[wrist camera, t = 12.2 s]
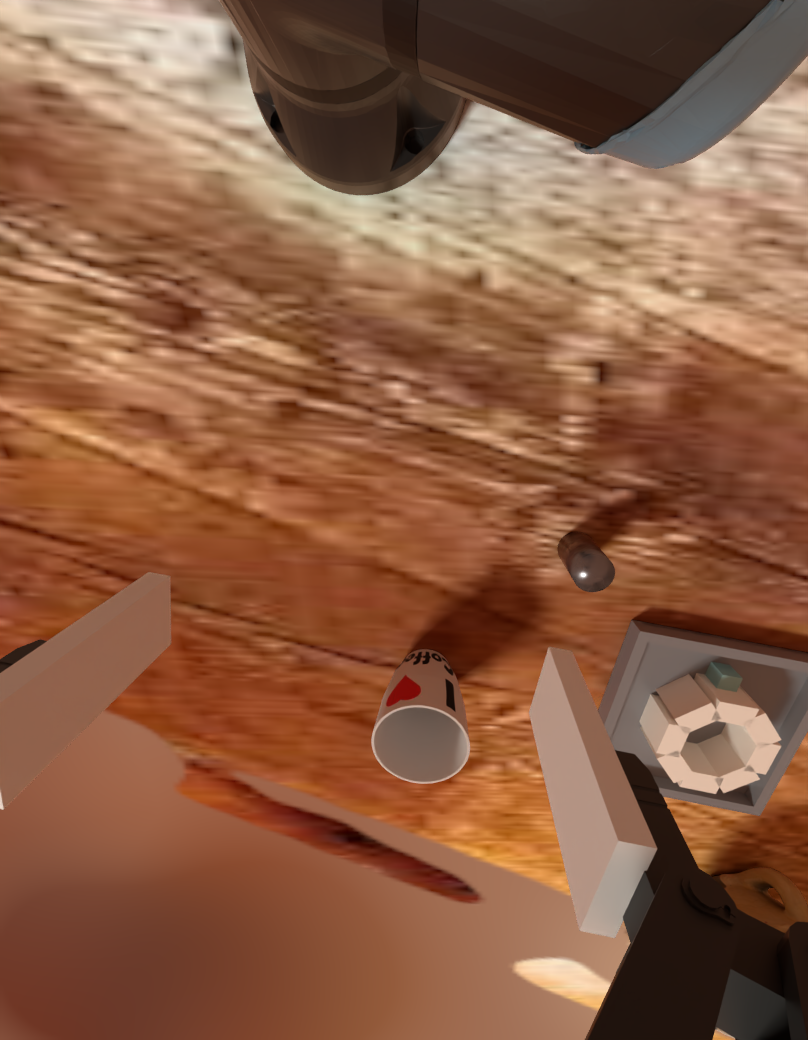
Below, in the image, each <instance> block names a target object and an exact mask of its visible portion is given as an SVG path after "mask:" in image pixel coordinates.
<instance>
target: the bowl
mask: <svg viewBox="0 0 808 1040" xmlns="http://www.w3.org/2000/svg"><path fill="white" fill-rule="evenodd" d="M712 878H713V879H715V880H716V881H717V882H718V883H719V884H720V885H721V886H722V887H723V888H724V889H725V890H726V891H727V893H728V894H729V895H730V897H731V898H732V899H733V901H734V902H735V904H736V907H737V909H739V910H741V911H742V912H744V913H746V914H747V915H749V916H751V917H753V918H755V919H757V920H759V921H761V922H763V923H765V924H767V925H769V926H771V927H773V928H775V929H777V930H779V931H781V932H783V933H786V932H787V930H788V929H789V927H790V926H791V925H793V924H794V923H795V922H808V905H807V903H806V901H805V899H804V897H803V895H802V893H801V892H800V890H799V889H798V888H797V887H796V886H795V884H794V883H793V882H792V881H791V880H790V879H789V878H788V877H786V876H785V875H784V874H782V873H780V872H779V871H777V870H775V869H772V868H768V867H757V868H752V869H748V870H745V871H743V872H741V873H737V874H722V875H720V876H713V877H712ZM769 888H775V890H776V891H777V892H778V893H779V895H780V896H781V898H782V901H783V903H784V905H783V904H781V903H780V902H778V901H777V900H776V899H774V898H773V897H771V896H770V895H769V893H768V889H769ZM715 1029H716V1030H717V1031H719V1032H721V1033H723V1034H725V1035H727V1036H730V1037H732V1036H731V1035H729V1034H727V1033H726V1032H724V1031H722V1030H721V1029H719V1028H717V1027H715ZM732 1038H734V1037H732Z"/></svg>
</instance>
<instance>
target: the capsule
mask: <svg viewBox="0 0 808 1040" xmlns="http://www.w3.org/2000/svg"><path fill="white" fill-rule="evenodd" d="M558 554H559V556H560V558H561V560H562V562H563V563H564V565H565V567H566V568H567V570H568V572H569V573H570V575H571V577H572V578H573V580H574V582H575V584H576V585H577V586H578V587H579V588H580V589H582V590H584V591H588V592H597V591H601V590H603V589H605V588H606V587H608V586H609V585H610V584H611V582H612V581H613V579H614V576H615V569H614V566H613V564H612V562H611V561H610V560H609V559H608V558H607V556H606V555H605V554H604V553H603V552H602V550H601V549H600V548H599V547H598V546H597V545H596V543H595V542H594V541H593V540H592V539H591V537H590V536H588V535H587V534H585V533H583V532H572V533H569V534H567V535H565V536H564V537H563V538H562V539H561V540H560V542H559V544H558Z"/></svg>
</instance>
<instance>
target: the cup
mask: <svg viewBox="0 0 808 1040" xmlns="http://www.w3.org/2000/svg"><path fill="white" fill-rule="evenodd" d="M372 749H373V752H374V755H375V757H376V759H377V760H378V762H379V763H380V764H381V765H382V766H383V767H384V768H385V769H386V770H387V771H388V772H390V773H391V774H393V775H394V776H396V777H398V778H400V779H403V780H406V781H409V782H414V783H435V782H440V781H443V780H446V779H448V778H450V777H452V776H453V775H455V774H456V773H458V772H459V771H460V770H461V769H462V767H463V766H464V765H465V763H466V761H467V759H468V756H469V752H470V743H469V735H468V728H467V720H466V713H465V706H464V702H463V698H462V695H461V691H460V688H459V684H458V681H457V678H456V676H455V674H454V672H453V670H452V668H451V666H450V665H449V663H448V661H447V659H446V658H445V657H444V656H443V655H441V654H440V653H438V652H436V651H433V650H429V649H420V650H416V651H414V652H412V653H410V654H409V655H408V656H407V657H406V658H405V659H404V660H403V662H402V663H401V664H400V666H399V667H398V668H397V669H396V671H395V673H394V675H393V677H392V679H391V681H390V683H389V685H388V688H387V690H386V692H385V694H384V696H383V699H382V703H381V706H380V710H379V713H378V716H377V720H376V723H375V727H374V730H373V734H372Z"/></svg>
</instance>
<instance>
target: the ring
mask: <svg viewBox="0 0 808 1040" xmlns="http://www.w3.org/2000/svg"><path fill="white" fill-rule="evenodd" d="M742 680H743V678H742V677H741V676H740V675H739V674H738V673H737V672H736V671H735V670H734V669H733V668H732V667H731V666H730V665H726V664H721V663H716V662H710V665H709V667H708V669H707V671H706V674H699V673H696V675H695V678H694V680H693V678H692V677H691V676H690V675H689V674H688V675H686V676H683V677H681V678H679V679H677V680H675V681H673V682H671V683H668V684H666V685H664V686H662V687H660V688H658V689H655V690H656V691H657V693H658V694H659V696H657V695H652V694H650V697H649V699H648V702H647V704H646V707H645V709H644V711H643V714H642V716H641V719H640V721H639V722H640V724H641V725H642V726H641V727H640V728H641V730H642V732H643V734H644V736H645V737H646V739H647V741H648V743H649V745H650V747H651V749H652V751H653V752H654V754H655V756H656V758H657V760H658V761H659V763H660V764H661V765H662V767H663V768H664V770H665V771H666V773H667V774H668V776H669V777H670V778H671V780H672V781H673V783H676V782H677V783H678V785H679V787H683V788H688V789H693V790H698V791H703V792H708V793H713V794H716V793H717V791H718V789H719V787H720V789H721V790H722V792H723V793H726V792H728V791H731V790H734V789H736V788H739V787H741V786H744V785H747V784H749V783H752V782H754V781H757V780H759V777H758V775H757V774H756V773H760V774H765V775H766V773H767V771H768V770H769V768H770V766H771V764H772V762H773V761H774V759H775V757H776V755H777V753H778V751H779V750H780V748H781V745H780V744H779V743H778V741H780V740H781V738H780V737H779V735H778V733H777V732H776V730H775V728H774V727H773V725H772V723H771V722H770V720H769V718H768V717H767V715H766V713H765V712H764V711H763V710H762V709H761V708H760V707H759V706H758V705H757V703H756V702H755V701H754V700H753V699H752V698H751V697H750V696H749V695H748V694H747V693H746V691H745V690H744V689H743V688H742V687H741V686H740V684H741V682H742ZM715 721H720V722H726V725H725V727H724V729H723V731H722V733H721V734H719V735H717V736H714V737H712V738H710V739H707V740H705V741H702V742H700V743H698V744H695V743H690V742H685V741H686V739H687V737H688V735H689V733H690V732H692V731H694V730H696V729H699V728H701V727H703V726H706V725H708V724H710V723H713V722H715Z"/></svg>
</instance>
